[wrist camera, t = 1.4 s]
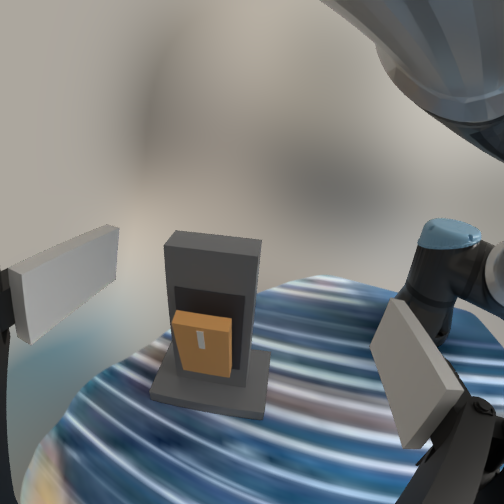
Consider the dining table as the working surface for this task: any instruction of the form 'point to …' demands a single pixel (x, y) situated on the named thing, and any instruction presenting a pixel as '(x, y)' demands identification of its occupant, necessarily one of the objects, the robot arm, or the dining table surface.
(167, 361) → the switch stand
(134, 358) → the dining table surface
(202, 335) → the rocker
